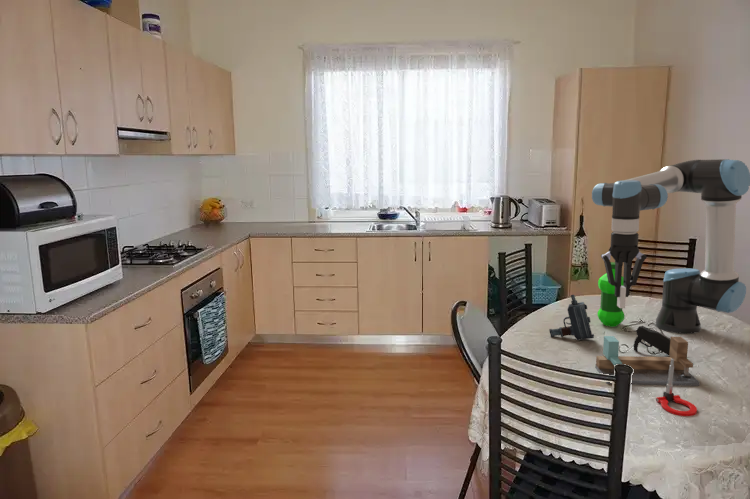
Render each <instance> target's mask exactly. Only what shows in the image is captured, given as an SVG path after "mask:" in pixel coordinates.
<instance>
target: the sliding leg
mask: <svg viewBox="0 0 750 499" xmlns="http://www.w3.org/2000/svg"><path fill="white" fill-rule="evenodd" d="M619 347H620V341H619V340H618V338H616V336H614V335H603V348H602V349H603V350H602V355H603V356H605V357H606V358H607V359H608V360H610V361H611V362H612V363H613V365H616V364H622V362H621V361H620V360H619V359H618V356H619V349H620V348H619Z"/></svg>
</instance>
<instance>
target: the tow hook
mask: <svg viewBox="0 0 750 499" xmlns="http://www.w3.org/2000/svg"><path fill="white" fill-rule="evenodd" d="M673 365H674V359H673V358H671V363H670V365H669V373H668V382H667V385H665V387H666V388H665V391H663V393H662V396H658V397H655V402H656V403H659V404H660V406H661V408H662V409H663V410H665V411H666V412H667V413H669V414H673V415H677V416H681V417H693V416H694V415H696V414H697V411H698V408H697V406H696V405H695V404H694V403H692V402H690V401H688V400H685V399H682V398H681V396H680V395H679V394H677V395H675V394H674V393H673V387H674V385H673V384H672V382H673V373H674V366H673ZM670 402H675V403H676V404H681V405H683V406H686V407H688V408H689V409H688V410H678V409H675V408H673V407H671V406H669V403H670Z"/></svg>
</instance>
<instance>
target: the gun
mask: <svg viewBox="0 0 750 499" xmlns="http://www.w3.org/2000/svg"><path fill="white" fill-rule="evenodd" d="M570 297H571V302H570V304H568V306H567V314H568V316H566V317H564V318H563V325H564V326H562V327H561V326H559V328H549V330H548V331H549V334H550V337H551V338H552V337H555V336H560V337H561V338H563V337H566V336H572V337H574V338H575V340H577V341H582V340H590V339H594V336H595V334H594V333H592V329H591V325H590V323H591V318H590V316H588V313H587V310H588V305H587V304H585V302H584V301H581V302H578V300H577V299H576V295H575V294H571V295H570ZM568 319H569V322H565V321H566V320H568ZM566 324H567V325H569V326H567V325H566Z"/></svg>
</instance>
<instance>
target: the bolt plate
mask: <svg viewBox="0 0 750 499" xmlns="http://www.w3.org/2000/svg"><path fill="white" fill-rule="evenodd" d="M595 369H596V371H597V372H598V374H600V373H603V374H609V375H614V369H599V368H598V367H597V365H596V364H595ZM668 373H669V370H655V369H634V373H633V375H632V383H631V384H630V385H647V386H666V385H667V382H668ZM605 383H606V384H608V385H613V384H612V383H610V382H605ZM672 384H673V386H695V387H696V386H697V387H698V386H700V381H699V380H698V379H697V378H696V377H695V376H694V375H692V374H691V373H690V372H689V374H688V376H684V370H674V373H673V382H672Z"/></svg>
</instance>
